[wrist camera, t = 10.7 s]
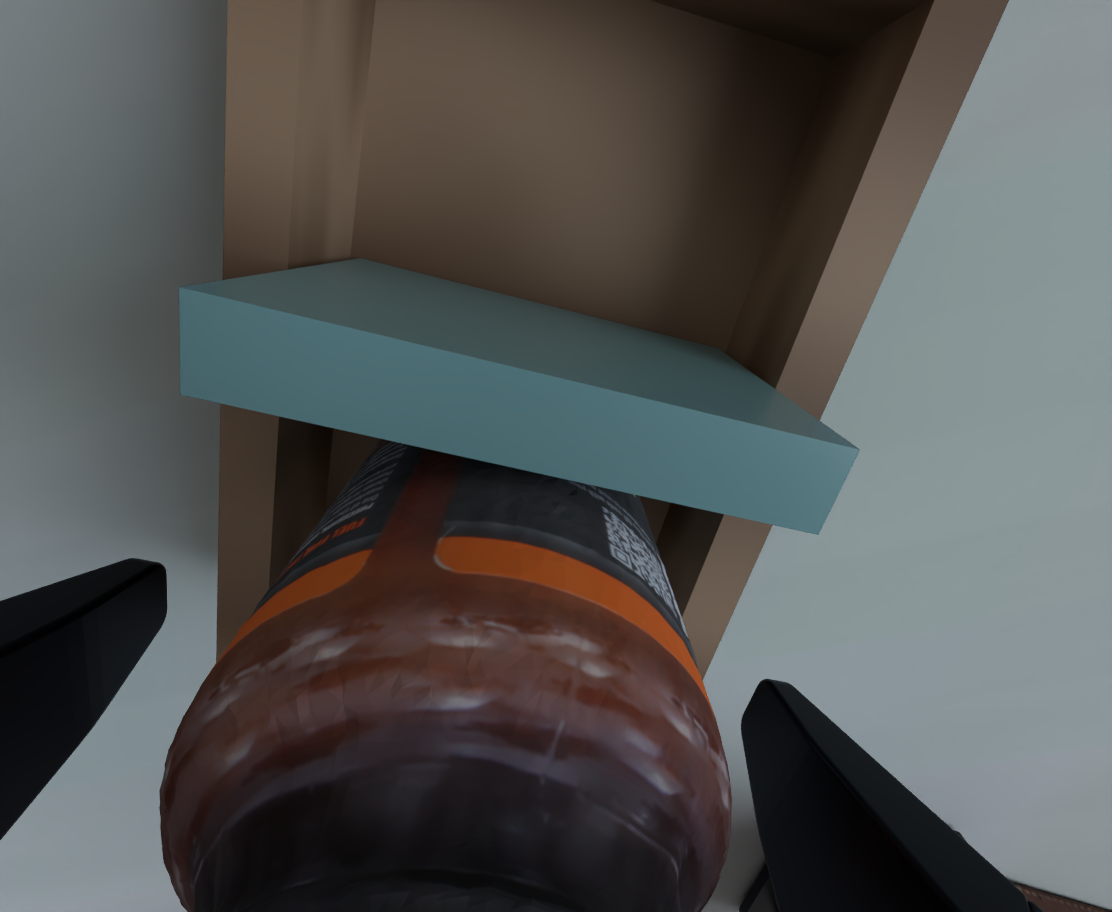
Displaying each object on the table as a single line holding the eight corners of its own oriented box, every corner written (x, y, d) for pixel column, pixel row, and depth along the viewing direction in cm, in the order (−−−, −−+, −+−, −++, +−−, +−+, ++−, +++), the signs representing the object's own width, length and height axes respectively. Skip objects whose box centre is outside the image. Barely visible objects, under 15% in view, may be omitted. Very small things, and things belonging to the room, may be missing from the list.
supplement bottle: (365, 550, 14) (-127, 1425, 4) (410, 327, 12) (-441, 962, 2) (584, 603, 15) (664, 1460, 5) (664, 402, 13) (1155, 1169, 2)
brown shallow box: (639, 646, 17) (664, 763, 13) (293, 580, 16) (215, 687, 12) (876, 28, 11) (1042, -73, 7) (350, -143, 10) (232, -361, 6)
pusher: (699, 399, 13) (817, 535, 7) (354, 316, 12) (180, 394, 6) (718, 348, 12) (860, 450, 7) (360, 258, 11) (178, 286, 6)
